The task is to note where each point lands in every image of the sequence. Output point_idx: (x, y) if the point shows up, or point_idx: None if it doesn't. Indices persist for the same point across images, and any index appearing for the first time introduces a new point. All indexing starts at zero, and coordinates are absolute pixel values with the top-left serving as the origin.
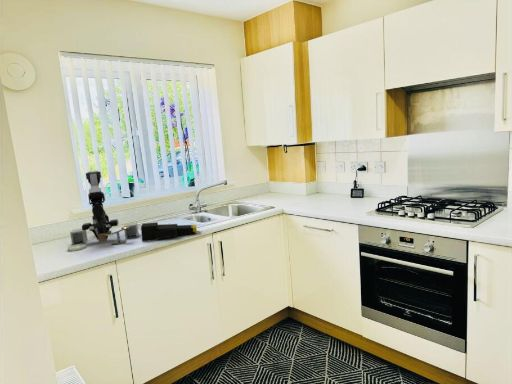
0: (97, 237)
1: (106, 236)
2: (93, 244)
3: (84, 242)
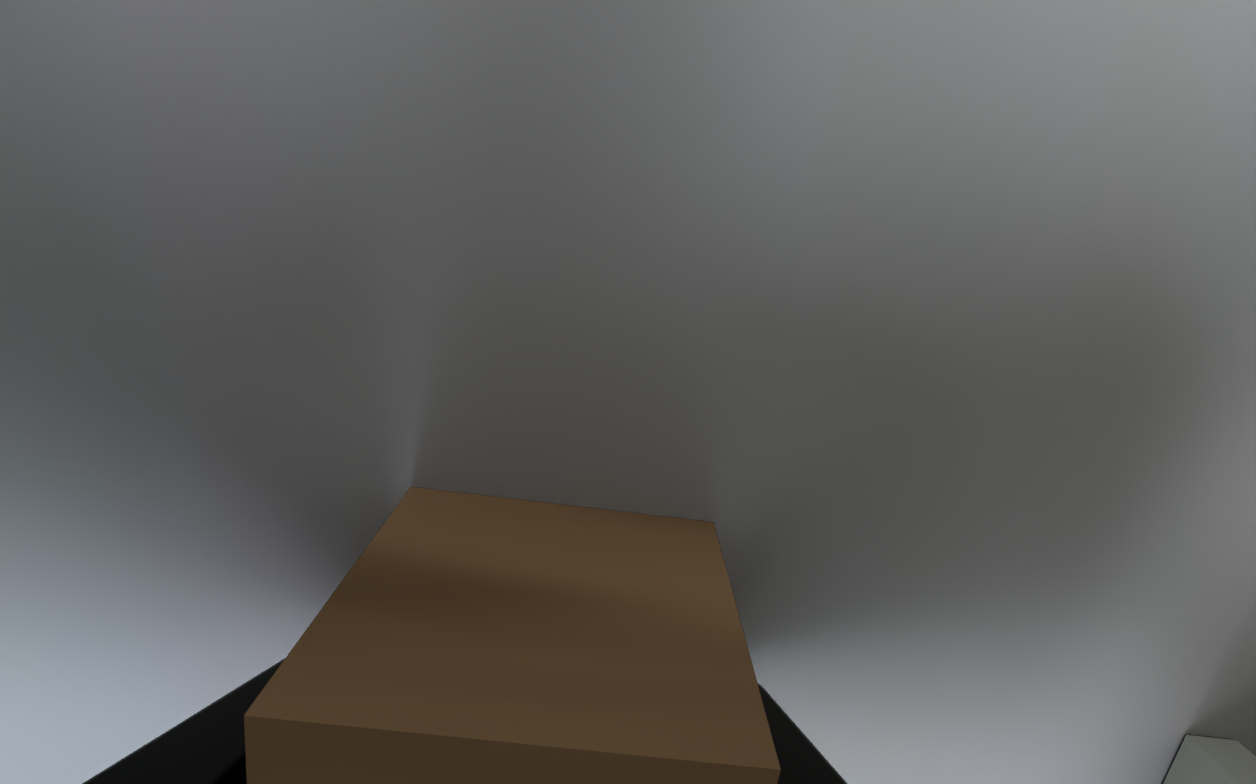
0: None
1: None
2: (936, 333)
3: (1242, 765)
